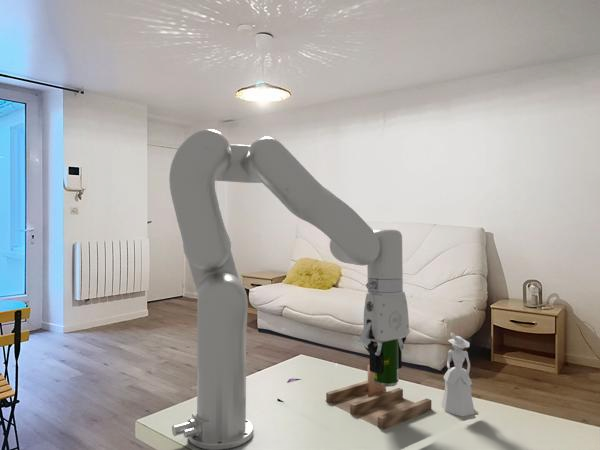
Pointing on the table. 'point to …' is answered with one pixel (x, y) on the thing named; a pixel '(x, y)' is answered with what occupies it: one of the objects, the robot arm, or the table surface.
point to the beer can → (388, 364)
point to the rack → (377, 405)
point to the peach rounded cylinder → (374, 385)
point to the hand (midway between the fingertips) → (385, 368)
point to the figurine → (458, 381)
